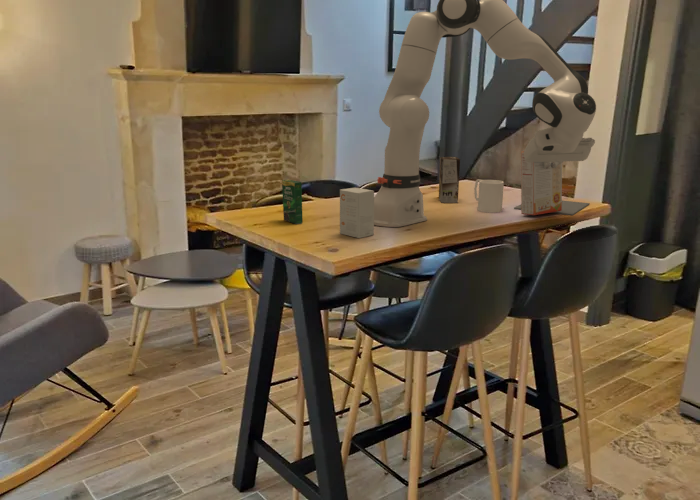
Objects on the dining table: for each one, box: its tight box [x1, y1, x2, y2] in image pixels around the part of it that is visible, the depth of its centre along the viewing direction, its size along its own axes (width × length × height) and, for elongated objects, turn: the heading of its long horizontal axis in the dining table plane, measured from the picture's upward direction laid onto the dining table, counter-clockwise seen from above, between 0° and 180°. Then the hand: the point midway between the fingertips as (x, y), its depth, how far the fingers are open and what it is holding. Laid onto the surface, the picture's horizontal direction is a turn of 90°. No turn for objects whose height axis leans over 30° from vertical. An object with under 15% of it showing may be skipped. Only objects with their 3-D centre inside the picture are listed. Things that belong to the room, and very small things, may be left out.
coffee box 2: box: [438, 156, 461, 204], centre depth 230 cm, size 9×6×16 cm
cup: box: [473, 178, 505, 214], centre depth 214 cm, size 8×12×10 cm
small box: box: [339, 187, 375, 239], centre depth 177 cm, size 8×6×13 cm
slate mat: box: [513, 199, 591, 216], centre depth 221 cm, size 24×20×1 cm
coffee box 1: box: [281, 179, 304, 225], centre depth 193 cm, size 8×3×13 cm, turn 35°
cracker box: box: [520, 150, 563, 216], centre depth 204 cm, size 14×6×21 cm, turn 123°
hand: (548, 166), depth 200 cm, fingers closed
